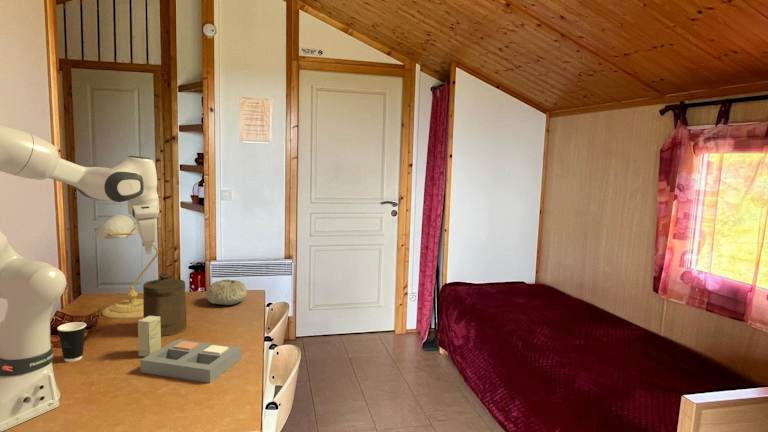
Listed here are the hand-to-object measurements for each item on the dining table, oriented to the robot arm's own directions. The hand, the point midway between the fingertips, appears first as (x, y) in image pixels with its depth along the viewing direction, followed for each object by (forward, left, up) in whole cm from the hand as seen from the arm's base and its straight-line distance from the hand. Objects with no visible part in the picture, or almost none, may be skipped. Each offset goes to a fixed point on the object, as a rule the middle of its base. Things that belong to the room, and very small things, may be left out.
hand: (147, 249), depth 156 cm
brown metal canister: (+25, +13, -37) cm, 46 cm away
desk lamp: (+40, +41, -37) cm, 67 cm away
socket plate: (0, -16, -36) cm, 40 cm away
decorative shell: (+62, +9, -37) cm, 73 cm away
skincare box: (+4, +3, -37) cm, 37 cm away
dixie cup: (-7, +23, -37) cm, 44 cm away
